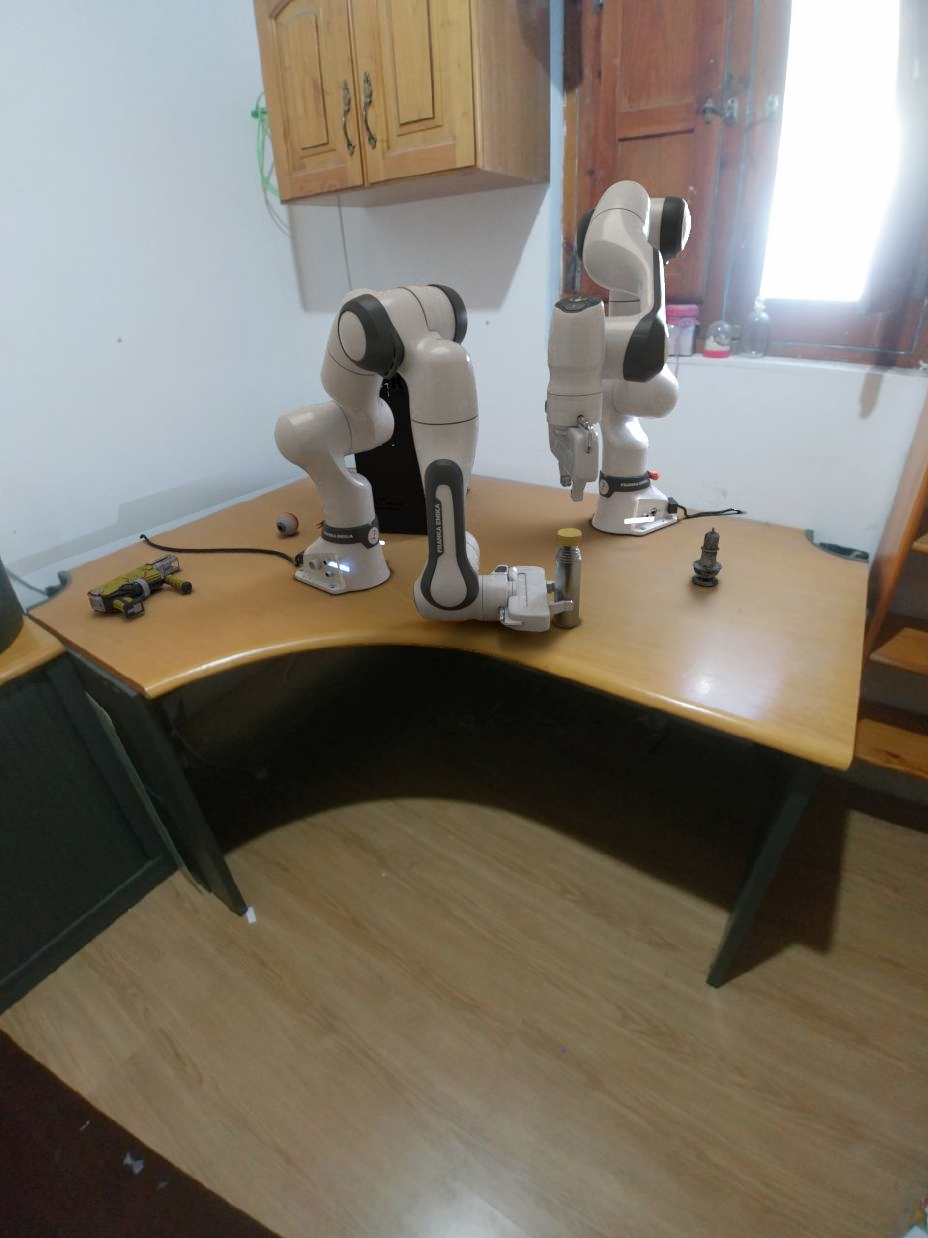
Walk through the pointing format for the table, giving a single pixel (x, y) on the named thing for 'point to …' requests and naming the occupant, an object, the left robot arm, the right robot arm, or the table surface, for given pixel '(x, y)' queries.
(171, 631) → the table surface
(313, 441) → the left robot arm
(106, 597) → the toy gun
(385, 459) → the black box
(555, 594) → the bottle
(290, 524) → the eyeball
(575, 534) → the cap
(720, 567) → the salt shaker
